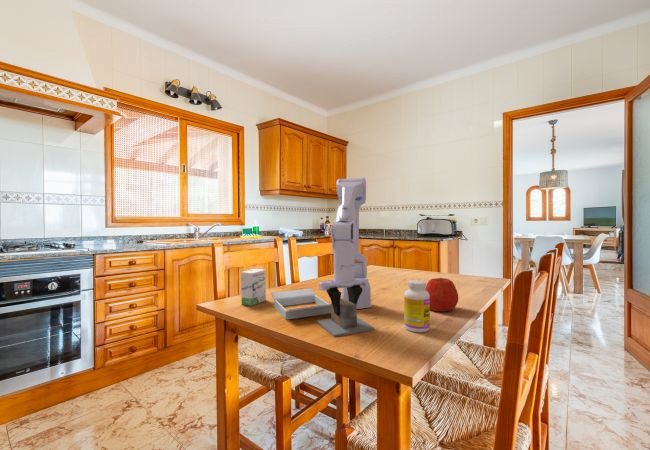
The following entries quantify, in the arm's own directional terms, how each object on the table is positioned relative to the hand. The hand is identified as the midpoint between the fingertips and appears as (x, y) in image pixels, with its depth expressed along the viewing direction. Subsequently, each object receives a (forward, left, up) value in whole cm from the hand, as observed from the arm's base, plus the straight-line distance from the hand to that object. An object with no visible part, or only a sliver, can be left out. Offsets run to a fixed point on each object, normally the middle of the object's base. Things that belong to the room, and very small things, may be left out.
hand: (344, 313), depth 85 cm
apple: (-36, -1, -4) cm, 36 cm away
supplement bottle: (-17, +10, -4) cm, 20 cm away
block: (0, -1, -3) cm, 3 cm away
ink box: (+19, -36, -4) cm, 41 cm away
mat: (0, 0, -4) cm, 4 cm away
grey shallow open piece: (+6, -20, -4) cm, 21 cm away
